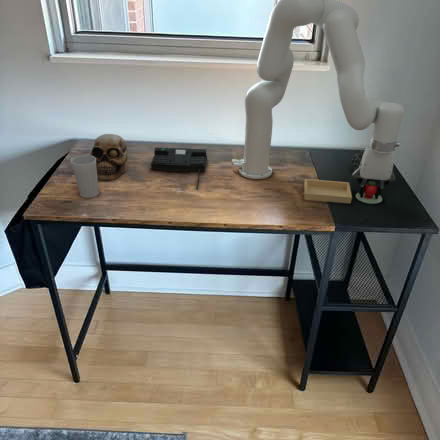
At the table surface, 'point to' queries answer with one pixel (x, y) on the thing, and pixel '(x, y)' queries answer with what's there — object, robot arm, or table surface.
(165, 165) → the electronic device
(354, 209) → the table surface
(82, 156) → the cup
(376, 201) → the coaster
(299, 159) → the table surface
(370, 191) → the strawberry
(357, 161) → the fruit
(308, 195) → the tray
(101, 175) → the brown skull
